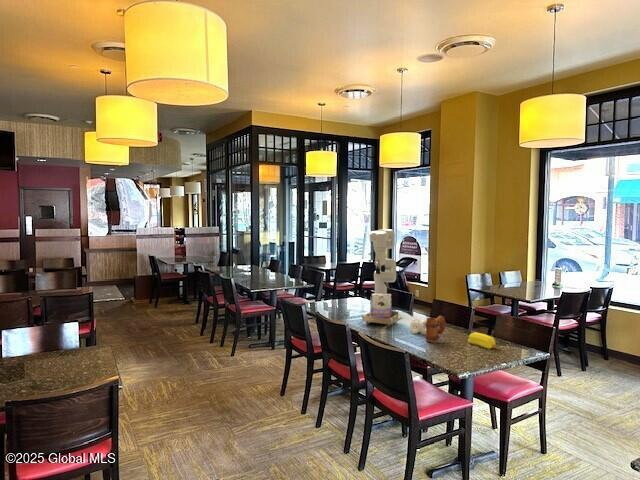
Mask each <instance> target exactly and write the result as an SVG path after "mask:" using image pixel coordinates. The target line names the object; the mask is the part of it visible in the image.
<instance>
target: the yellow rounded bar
mask: <svg viewBox="0 0 640 480" xmlns="http://www.w3.org/2000/svg"><path fill="white" fill-rule="evenodd" d="M467 342H468V343H469V344H471V345H474V346H479V347H481V348H485V349H488V350H490V349H495V348H496V346H497V345H496V340H495V339H494V337H493V336H491V335H487V334H485V333H480V332H472V333H470V334H469V337H468V341H467Z"/></svg>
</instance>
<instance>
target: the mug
mask: <svg viewBox="0 0 640 480" xmlns="http://www.w3.org/2000/svg"><path fill="white" fill-rule="evenodd" d="M426 320H427V321H426V323H425V325H426V329H425V330H426V334H425V335H424V338H425V341H426V342H428V343H430V342H431V343H430V344H436V343H437V342H439V339H440V338H441V337H440V335H442V334H443V333H444V331H445V329H446V319H445V317H444V316H442V315H438V316H437V317H427V318H426Z"/></svg>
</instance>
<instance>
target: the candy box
mask: <svg viewBox="0 0 640 480" xmlns="http://www.w3.org/2000/svg"><path fill="white" fill-rule="evenodd" d="M371 308H372V315H371V317H377V318H391V311H392V293H387V294H375V293H371Z"/></svg>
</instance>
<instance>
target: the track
mask: <svg viewBox="0 0 640 480" xmlns="http://www.w3.org/2000/svg"><path fill="white" fill-rule="evenodd" d="M401 319H403V316H398V320H396V321H394V322H393V323H391V324H390V325H389V324H388V325H384V326H383V327H382V328H383V329H384V330H385V329H387V328H388V327H390V326H392V325H393V324H395V323H396V322H398V321H399V320H401ZM372 323H373V322H369V323H364V324H363V326H364V327H367V326H369V325H370V324H372Z"/></svg>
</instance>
